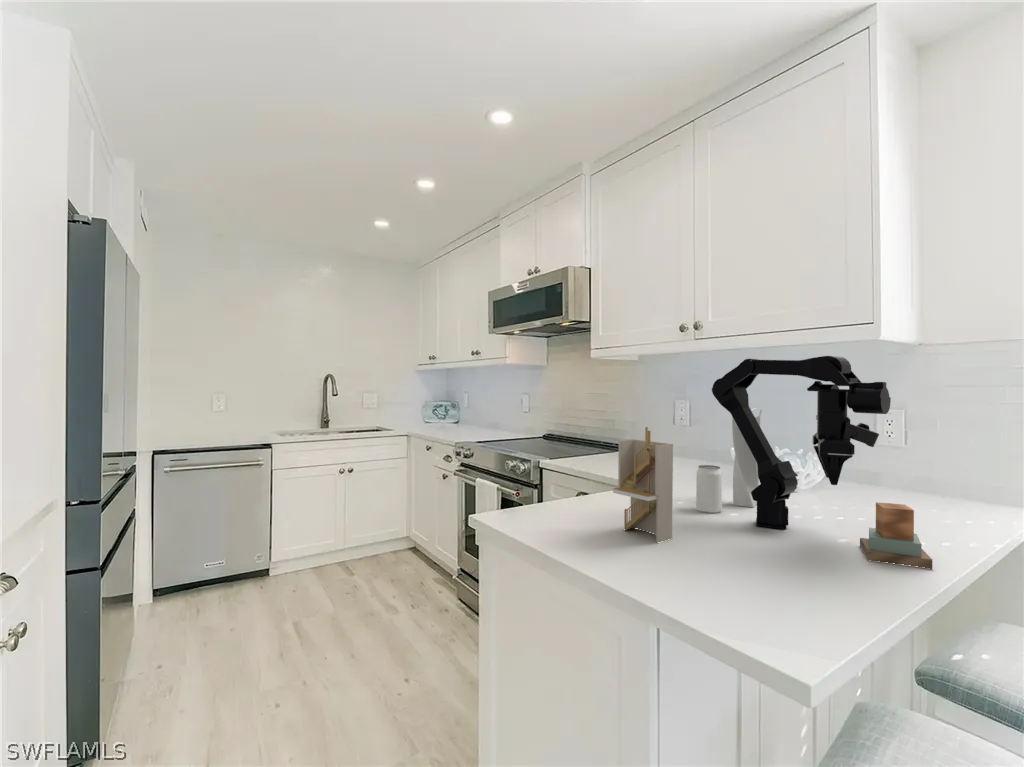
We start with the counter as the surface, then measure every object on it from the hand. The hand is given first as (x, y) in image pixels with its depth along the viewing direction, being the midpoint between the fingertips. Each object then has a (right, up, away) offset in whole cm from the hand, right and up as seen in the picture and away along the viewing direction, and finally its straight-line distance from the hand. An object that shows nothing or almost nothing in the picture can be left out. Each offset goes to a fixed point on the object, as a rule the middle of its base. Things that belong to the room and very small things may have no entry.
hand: (831, 481), depth 115 cm
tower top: (+6, -11, -11) cm, 17 cm away
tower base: (+5, -14, -12) cm, 19 cm away
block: (+5, -9, -12) cm, 16 cm away
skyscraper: (-5, -13, +31) cm, 34 cm away
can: (-18, -13, +25) cm, 33 cm away
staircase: (-42, -14, +2) cm, 44 cm away
